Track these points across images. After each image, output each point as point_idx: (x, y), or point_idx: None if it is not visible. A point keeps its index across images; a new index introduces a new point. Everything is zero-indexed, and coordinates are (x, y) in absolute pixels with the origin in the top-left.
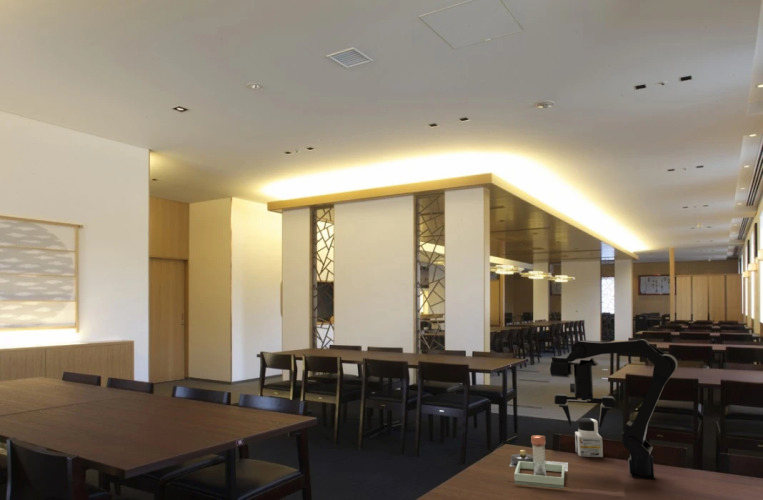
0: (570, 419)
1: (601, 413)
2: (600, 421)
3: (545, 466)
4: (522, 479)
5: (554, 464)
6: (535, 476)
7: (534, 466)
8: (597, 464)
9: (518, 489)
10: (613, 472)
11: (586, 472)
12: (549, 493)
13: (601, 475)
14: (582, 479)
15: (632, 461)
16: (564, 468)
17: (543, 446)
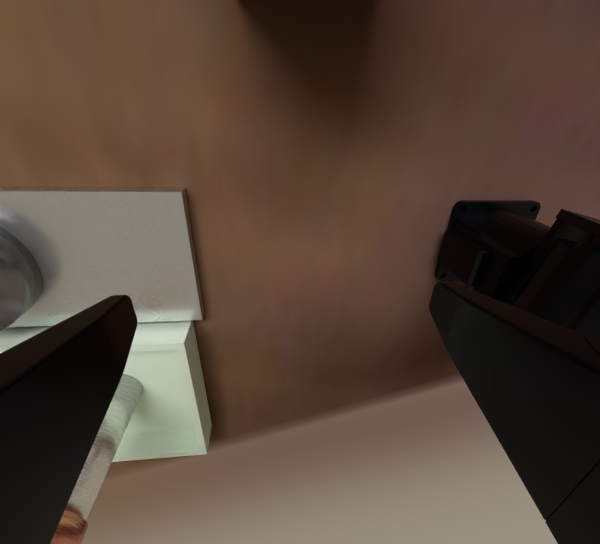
0: (106, 411)
1: (551, 519)
2: (470, 383)
3: (127, 425)
4: None
5: (143, 350)
6: (121, 458)
7: None
8: (331, 108)
9: None
10: (381, 230)
11: (272, 263)
12: (182, 456)
13: (327, 282)
14: (258, 342)
15: (476, 291)
16: (182, 290)
17: (86, 518)
